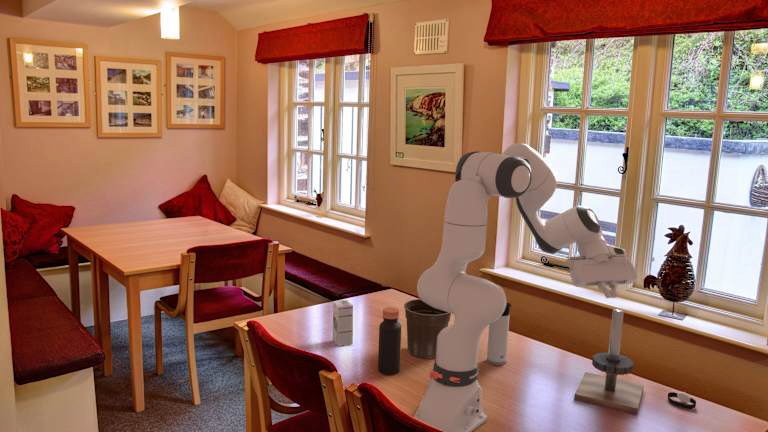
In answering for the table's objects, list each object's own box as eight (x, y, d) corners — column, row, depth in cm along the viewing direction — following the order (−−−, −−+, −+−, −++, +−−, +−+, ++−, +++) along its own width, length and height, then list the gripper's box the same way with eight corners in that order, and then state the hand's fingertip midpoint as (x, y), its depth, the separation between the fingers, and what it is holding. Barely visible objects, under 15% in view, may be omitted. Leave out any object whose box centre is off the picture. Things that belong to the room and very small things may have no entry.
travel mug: (507, 366, 204) (511, 307, 200) (486, 364, 205) (490, 305, 202) (507, 359, 210) (511, 301, 206) (487, 356, 211) (491, 299, 208)
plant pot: (456, 348, 218) (459, 303, 215) (440, 365, 203) (443, 317, 200) (413, 339, 224) (414, 295, 221) (394, 355, 210) (396, 309, 207)
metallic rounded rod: (615, 392, 184) (623, 313, 179) (603, 390, 185) (611, 311, 181) (616, 388, 187) (625, 310, 182) (604, 385, 188) (612, 308, 184)
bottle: (401, 368, 200) (404, 307, 197) (396, 377, 194) (398, 314, 190) (381, 365, 202) (383, 305, 198) (375, 373, 196) (377, 312, 192)
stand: (636, 415, 175) (637, 408, 175) (573, 400, 183) (574, 393, 182) (643, 390, 190) (643, 384, 190) (584, 378, 198) (585, 371, 197)
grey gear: (630, 377, 178) (630, 371, 177) (589, 369, 182) (590, 362, 182) (634, 363, 187) (635, 357, 187) (595, 356, 192) (596, 349, 192)
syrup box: (353, 344, 218) (354, 304, 215) (336, 346, 216) (337, 306, 213) (348, 338, 223) (348, 299, 220) (331, 340, 221) (332, 300, 218)
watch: (697, 407, 182) (699, 395, 181) (691, 412, 178) (693, 400, 178) (670, 397, 187) (671, 386, 186) (664, 402, 184) (665, 391, 183)
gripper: (570, 251, 187) (585, 293, 179) (630, 249, 192) (647, 290, 185) (560, 262, 192) (575, 303, 184) (619, 260, 197) (636, 300, 190)
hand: (612, 297), depth 184 cm, fingers closed
